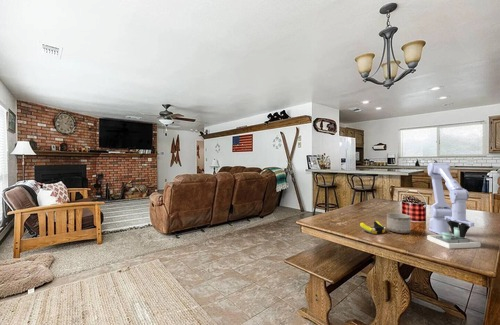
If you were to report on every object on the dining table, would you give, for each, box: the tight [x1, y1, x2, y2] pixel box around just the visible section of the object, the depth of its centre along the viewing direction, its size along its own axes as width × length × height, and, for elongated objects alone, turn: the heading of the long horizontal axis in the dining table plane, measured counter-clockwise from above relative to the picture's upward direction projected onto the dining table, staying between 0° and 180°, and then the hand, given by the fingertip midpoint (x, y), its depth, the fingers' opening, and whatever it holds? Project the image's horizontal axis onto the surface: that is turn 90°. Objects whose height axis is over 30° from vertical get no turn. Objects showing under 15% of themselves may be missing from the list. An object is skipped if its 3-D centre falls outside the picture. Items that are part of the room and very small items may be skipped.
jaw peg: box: [454, 227, 463, 239], centre depth 124 cm, size 4×4×6 cm
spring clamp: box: [359, 220, 387, 235], centre depth 145 cm, size 15×6×10 cm
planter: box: [386, 212, 411, 234], centre depth 145 cm, size 13×13×10 cm
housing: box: [426, 232, 482, 250], centre depth 124 cm, size 18×13×6 cm
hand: (458, 235), depth 124 cm, fingers closed on jaw peg, 4 cm apart
